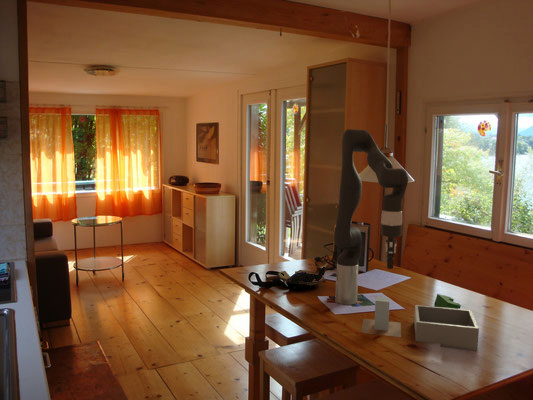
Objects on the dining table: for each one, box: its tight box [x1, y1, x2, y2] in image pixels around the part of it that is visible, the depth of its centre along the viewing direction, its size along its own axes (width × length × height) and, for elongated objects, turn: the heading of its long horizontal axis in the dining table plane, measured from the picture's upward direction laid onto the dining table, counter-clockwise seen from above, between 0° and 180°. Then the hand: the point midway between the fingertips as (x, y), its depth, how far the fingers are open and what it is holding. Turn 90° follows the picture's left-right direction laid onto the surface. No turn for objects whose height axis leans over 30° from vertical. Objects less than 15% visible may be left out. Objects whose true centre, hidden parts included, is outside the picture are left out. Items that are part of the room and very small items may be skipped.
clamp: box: [433, 293, 462, 309], centre depth 195 cm, size 12×6×9 cm, turn 176°
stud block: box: [361, 318, 402, 338], centre depth 175 cm, size 14×14×6 cm
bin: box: [413, 304, 480, 352], centre depth 169 cm, size 20×18×8 cm
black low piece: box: [277, 263, 329, 287], centre depth 231 cm, size 22×30×8 cm
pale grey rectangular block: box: [374, 296, 391, 331], centre depth 175 cm, size 5×5×11 cm
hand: (389, 265), depth 174 cm, fingers open, 8 cm apart
